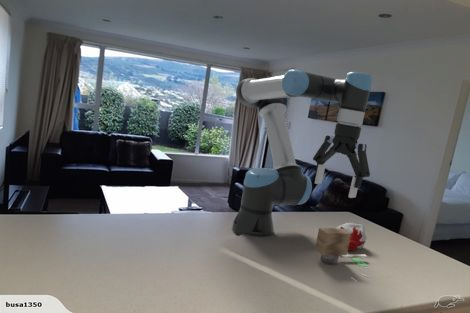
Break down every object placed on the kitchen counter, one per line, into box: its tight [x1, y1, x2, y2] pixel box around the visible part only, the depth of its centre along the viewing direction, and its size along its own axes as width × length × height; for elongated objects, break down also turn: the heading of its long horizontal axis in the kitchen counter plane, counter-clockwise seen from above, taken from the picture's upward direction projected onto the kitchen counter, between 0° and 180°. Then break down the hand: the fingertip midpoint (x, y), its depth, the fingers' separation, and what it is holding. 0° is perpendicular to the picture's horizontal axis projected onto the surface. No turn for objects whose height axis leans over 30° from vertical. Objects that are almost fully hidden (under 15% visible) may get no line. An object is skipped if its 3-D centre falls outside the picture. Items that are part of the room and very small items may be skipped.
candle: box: [336, 222, 367, 251], centre depth 121 cm, size 9×11×15 cm
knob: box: [314, 227, 368, 266], centre depth 106 cm, size 18×5×10 cm, turn 109°
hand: (334, 190), depth 107 cm, fingers open, 13 cm apart
